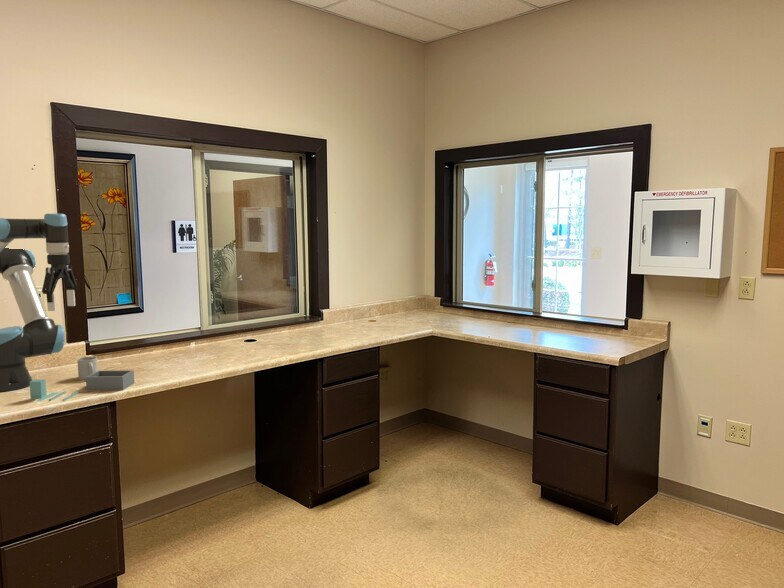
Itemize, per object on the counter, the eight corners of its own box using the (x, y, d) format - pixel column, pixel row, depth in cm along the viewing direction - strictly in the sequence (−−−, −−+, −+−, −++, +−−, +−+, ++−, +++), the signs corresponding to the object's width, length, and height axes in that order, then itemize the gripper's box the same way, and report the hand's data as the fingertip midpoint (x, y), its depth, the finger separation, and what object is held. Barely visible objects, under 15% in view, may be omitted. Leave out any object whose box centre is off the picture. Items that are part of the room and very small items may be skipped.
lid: (24, 403, 203) (22, 384, 203) (42, 394, 214) (40, 376, 213) (77, 403, 204) (76, 384, 203) (92, 394, 215) (91, 376, 214)
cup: (95, 376, 241) (94, 355, 240) (102, 380, 234) (101, 359, 233) (76, 379, 236) (75, 358, 235) (83, 384, 229) (81, 362, 228)
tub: (86, 392, 217) (85, 377, 216) (99, 385, 227) (98, 370, 226) (123, 392, 217) (122, 376, 217) (134, 384, 227) (133, 370, 227)
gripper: (49, 255, 205) (53, 313, 208) (84, 252, 230) (88, 303, 232) (28, 255, 205) (32, 313, 208) (66, 252, 230) (69, 304, 232)
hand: (62, 308), depth 220 cm, fingers open, 13 cm apart
